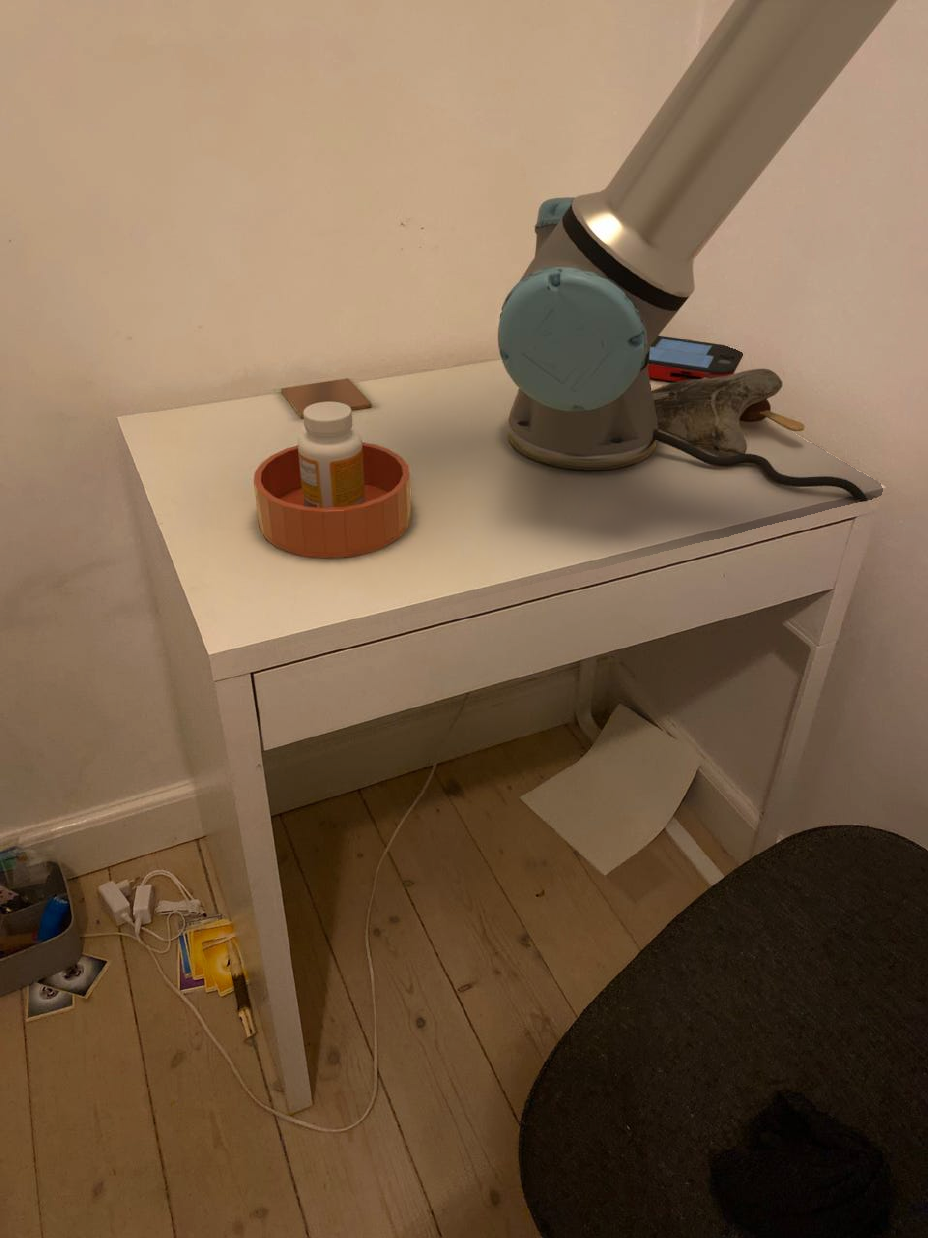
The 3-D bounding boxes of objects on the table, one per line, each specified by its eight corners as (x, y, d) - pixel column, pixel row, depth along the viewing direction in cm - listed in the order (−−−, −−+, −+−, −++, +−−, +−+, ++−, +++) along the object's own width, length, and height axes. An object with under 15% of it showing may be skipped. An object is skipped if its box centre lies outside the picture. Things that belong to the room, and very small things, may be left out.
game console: (744, 356, 118) (748, 339, 117) (728, 394, 109) (731, 375, 108) (631, 339, 123) (633, 321, 121) (605, 373, 113) (608, 355, 112)
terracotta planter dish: (434, 500, 87) (434, 455, 84) (367, 572, 77) (365, 524, 74) (308, 473, 91) (304, 429, 88) (229, 538, 81) (222, 491, 79)
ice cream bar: (772, 452, 96) (679, 400, 107) (811, 443, 98) (715, 393, 109) (779, 421, 94) (683, 372, 105) (819, 413, 96) (721, 365, 107)
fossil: (644, 347, 104) (775, 349, 95) (658, 374, 108) (786, 379, 98) (604, 431, 101) (735, 442, 92) (619, 456, 105) (748, 469, 95)
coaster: (348, 381, 110) (348, 377, 110) (372, 407, 104) (371, 403, 104) (281, 391, 107) (280, 388, 107) (301, 418, 101) (300, 415, 101)
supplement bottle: (371, 501, 86) (365, 399, 80) (359, 531, 81) (353, 425, 76) (312, 497, 86) (303, 395, 81) (298, 527, 82) (287, 421, 76)
